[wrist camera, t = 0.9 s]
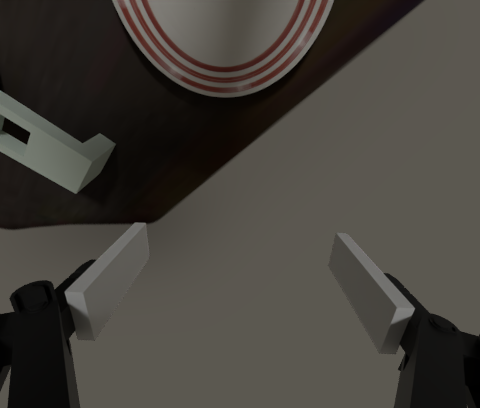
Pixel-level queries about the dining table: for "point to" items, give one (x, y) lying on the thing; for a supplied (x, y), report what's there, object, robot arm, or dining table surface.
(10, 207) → the dining table surface
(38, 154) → the bridge
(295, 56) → the dinner plate
